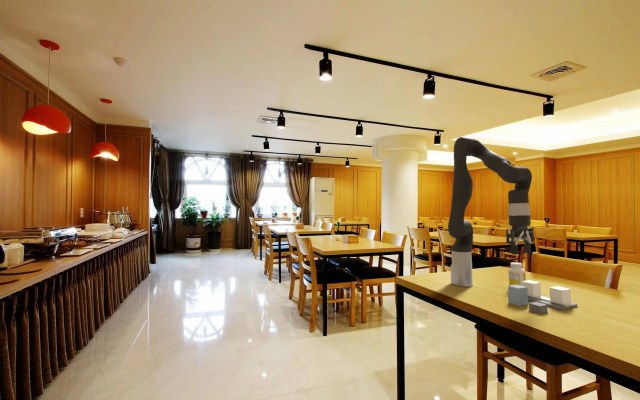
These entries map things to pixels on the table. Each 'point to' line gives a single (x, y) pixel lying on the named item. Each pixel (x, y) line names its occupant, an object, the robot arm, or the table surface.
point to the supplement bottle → (516, 274)
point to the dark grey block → (538, 307)
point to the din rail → (558, 295)
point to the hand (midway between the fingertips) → (521, 253)
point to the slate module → (518, 295)
